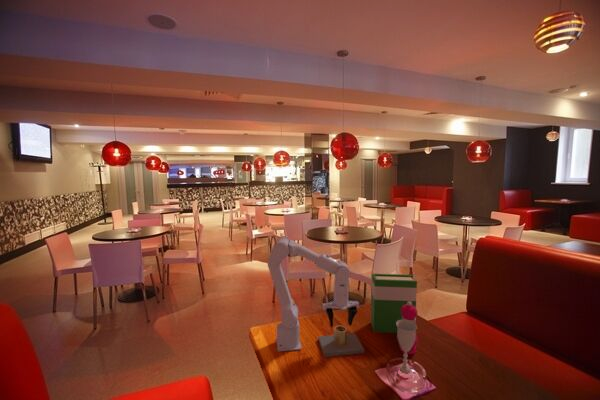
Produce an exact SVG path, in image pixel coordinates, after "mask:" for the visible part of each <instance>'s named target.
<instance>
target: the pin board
mask: <svg viewBox="0 0 600 400" xmlns="http://www.w3.org/2000/svg"><path fill="white" fill-rule="evenodd" d="M317 337H318V338H317V339H318V342H319V346H320V349H321V351H322V354H323V357H324V358H326V357H337V356H345V355H346V356H348V355H355V354H356V355H358V354H365V348H364V346H363V345H362V343H361V341H360V340H359V338H358V336H357V335H356V333H355V332H351V333H347V344H346V346H343V347H339V346H337V345H335V343H334V334H330V335H320V336H319V335H318V336H317Z"/></svg>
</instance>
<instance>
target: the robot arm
mask: <svg viewBox="0 0 600 400" xmlns="http://www.w3.org/2000/svg"><path fill="white" fill-rule="evenodd" d="M295 256H299V257H302V258H304V259H307V260H308V261H311V262H313V263H314V264H315V265H316V267H317V268H318V269H321V270H322V271H325V272H326V273H329V274H331V275H334V282H333V301H329V302H325V303H324V302H323V303H322V309H323V311H325V312H326V314H327V317H328V319H329V320H328V321H329V326H330V328H334V311H333V309H334V310H335V309H337V310H338V309H339V310H341V311H345V310H347V313H348V315H347V323H348V325H349V326H350V327H351V326H352V323H353V321H354V319H355V316H356V314H357V313H358V309H359V308H360V302H359V301H358V300H349V283H350V282H349V280H350V279H349V278H350V276H351V273H350V269H349V266H348V264H347V263H346V262H344V260H340V259H338V260H337V259H335V258H333V257H331V255H330V254H328V253H326V254H325V253H322V254H318V253H316V252H314V251H313V250H311V249H309V248H308V247H306V246H303V245H302V244H300V243H299V242H296V241H295V240H292V239H289V238H288V237H284V236H283V237H279V238H278V239H277V240H276V242H275V243H274V245H273V247H272V248H271V250H270V253H269V257H268V260H267V266H268V267H267V268H268V271H269V274H270V277H271V280H272V282H273V283H272V284H273V286H274V290H275V292H276V296H277V297H278V302H279V305H280V314H281V322H280V323H278V324H276V338H275V343H276V346H277V347H276V348H277V349H276V350H277V352H287V351H298V350H299V351H300V350H302V345H301V340H300V321H299V320H298V318H299V311H300V310H299V307H298V306H297V305H296V303H295V301H294V299H293V298H292V295H291V293H290V290H289V287H288V283H287V280H286V277H285V274H284V270H283V267H282V265H281V264H282V263H283V260H285V259H286V258H287V257H295Z"/></svg>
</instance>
